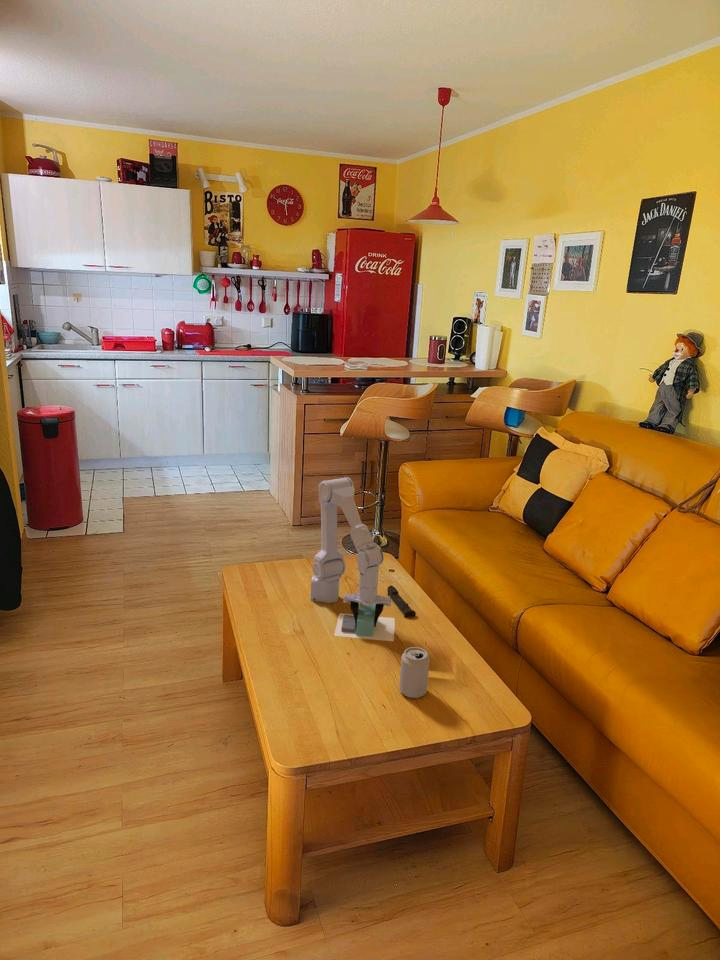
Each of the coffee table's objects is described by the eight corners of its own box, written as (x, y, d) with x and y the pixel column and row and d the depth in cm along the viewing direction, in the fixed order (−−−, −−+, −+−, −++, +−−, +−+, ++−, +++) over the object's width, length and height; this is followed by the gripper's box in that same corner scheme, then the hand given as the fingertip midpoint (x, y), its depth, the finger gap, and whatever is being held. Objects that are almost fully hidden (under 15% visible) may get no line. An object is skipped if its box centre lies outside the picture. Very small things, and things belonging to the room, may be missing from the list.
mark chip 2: (341, 631, 202) (341, 627, 201) (342, 624, 205) (342, 621, 205) (354, 632, 201) (354, 629, 201) (355, 625, 205) (355, 622, 205)
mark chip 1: (342, 624, 206) (342, 620, 205) (344, 618, 209) (344, 614, 209) (355, 625, 205) (355, 622, 205) (357, 619, 209) (357, 616, 209)
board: (333, 640, 199) (334, 635, 199) (339, 617, 213) (339, 613, 212) (393, 645, 198) (393, 641, 198) (394, 622, 212) (395, 618, 211)
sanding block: (356, 635, 200) (357, 620, 198) (359, 617, 210) (359, 603, 209) (372, 636, 200) (373, 621, 198) (374, 618, 210) (375, 604, 209)
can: (418, 703, 172) (422, 663, 168) (393, 693, 176) (396, 654, 172) (431, 689, 178) (435, 651, 174) (406, 680, 182) (410, 641, 178)
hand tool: (415, 621, 213) (416, 608, 212) (404, 622, 212) (405, 609, 211) (395, 594, 231) (396, 582, 229) (384, 595, 229) (385, 583, 228)
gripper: (343, 588, 197) (341, 628, 201) (391, 592, 196) (388, 632, 200) (345, 578, 204) (343, 617, 208) (392, 582, 203) (389, 621, 207)
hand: (365, 624), depth 205 cm, fingers closed on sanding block, 5 cm apart
